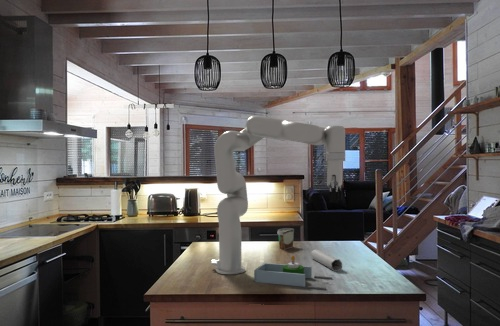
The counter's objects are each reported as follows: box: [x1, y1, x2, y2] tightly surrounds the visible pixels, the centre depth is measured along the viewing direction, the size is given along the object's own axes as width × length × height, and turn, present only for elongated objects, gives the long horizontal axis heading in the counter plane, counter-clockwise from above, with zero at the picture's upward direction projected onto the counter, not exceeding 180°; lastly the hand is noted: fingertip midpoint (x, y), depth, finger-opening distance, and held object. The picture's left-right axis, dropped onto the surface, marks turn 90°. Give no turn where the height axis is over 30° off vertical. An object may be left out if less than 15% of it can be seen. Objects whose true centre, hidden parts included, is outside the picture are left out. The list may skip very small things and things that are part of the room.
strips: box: [306, 275, 333, 291], centre depth 160 cm, size 7×15×1 cm, turn 160°
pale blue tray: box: [253, 262, 312, 288], centre depth 164 cm, size 20×13×4 cm, turn 70°
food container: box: [276, 227, 295, 251], centre depth 226 cm, size 12×6×10 cm, turn 144°
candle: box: [283, 255, 304, 274], centre depth 163 cm, size 8×8×10 cm
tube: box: [310, 249, 343, 272], centre depth 190 cm, size 5×5×25 cm
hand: (335, 201), depth 163 cm, fingers open, 9 cm apart
